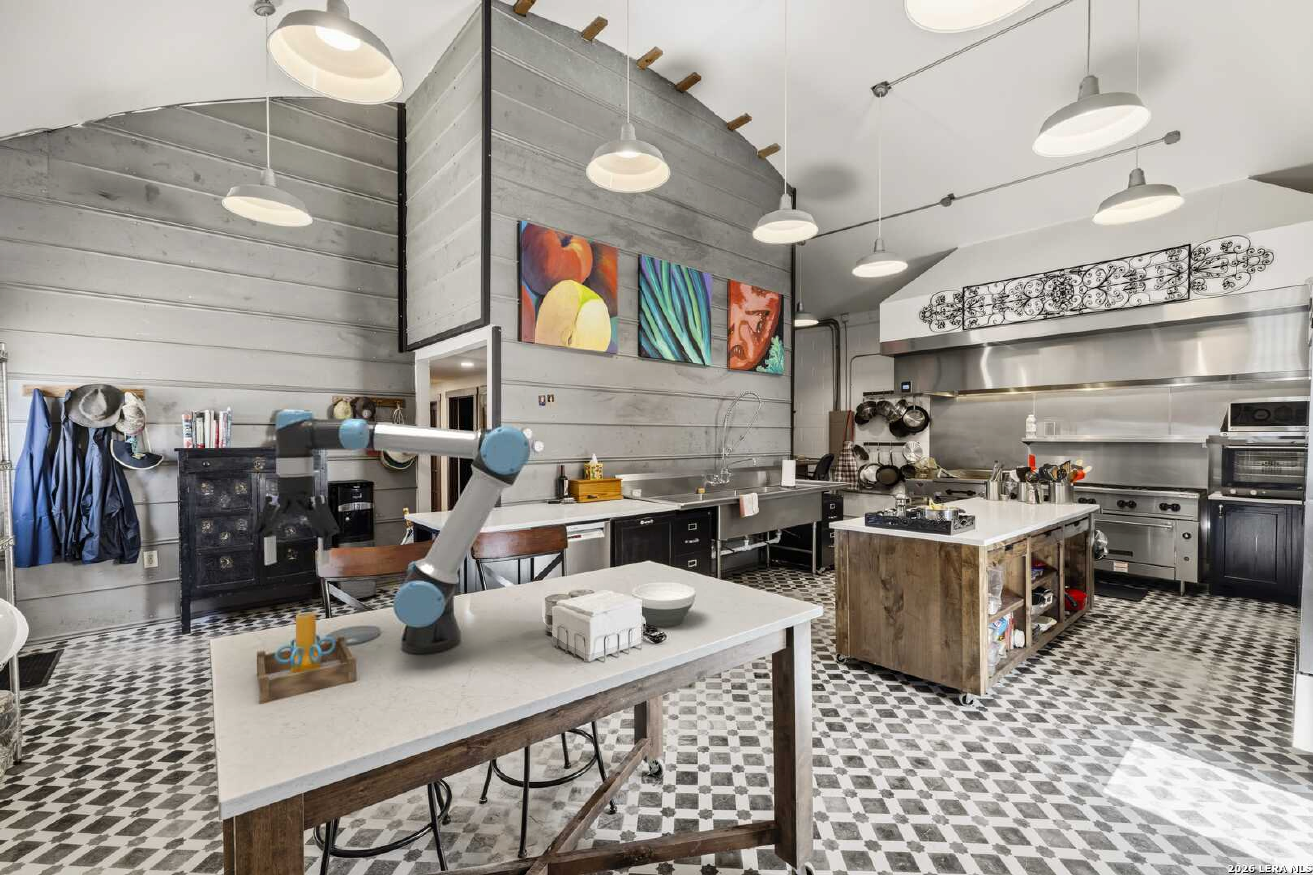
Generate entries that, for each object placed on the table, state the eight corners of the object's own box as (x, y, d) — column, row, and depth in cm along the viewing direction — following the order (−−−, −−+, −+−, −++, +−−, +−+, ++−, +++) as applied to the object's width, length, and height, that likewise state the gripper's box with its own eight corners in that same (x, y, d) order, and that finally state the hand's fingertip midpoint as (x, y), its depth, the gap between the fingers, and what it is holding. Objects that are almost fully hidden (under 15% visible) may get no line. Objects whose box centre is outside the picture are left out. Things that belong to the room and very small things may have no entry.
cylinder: (297, 667, 138) (296, 607, 138) (341, 666, 139) (341, 605, 139) (266, 690, 126) (266, 623, 126) (315, 688, 127) (315, 622, 127)
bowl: (656, 607, 185) (656, 579, 185) (707, 619, 174) (707, 588, 174) (619, 624, 170) (619, 592, 170) (672, 637, 158) (672, 604, 158)
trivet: (390, 629, 165) (390, 626, 165) (359, 647, 151) (359, 644, 151) (347, 627, 167) (347, 624, 167) (312, 644, 153) (312, 641, 153)
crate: (343, 655, 145) (343, 635, 145) (356, 680, 130) (356, 657, 130) (256, 674, 134) (256, 651, 134) (259, 703, 119) (259, 678, 119)
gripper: (354, 473, 136) (356, 560, 137) (259, 474, 139) (260, 559, 139) (334, 476, 129) (336, 568, 129) (233, 477, 131) (235, 567, 131)
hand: (297, 564), depth 134 cm, fingers open, 13 cm apart
